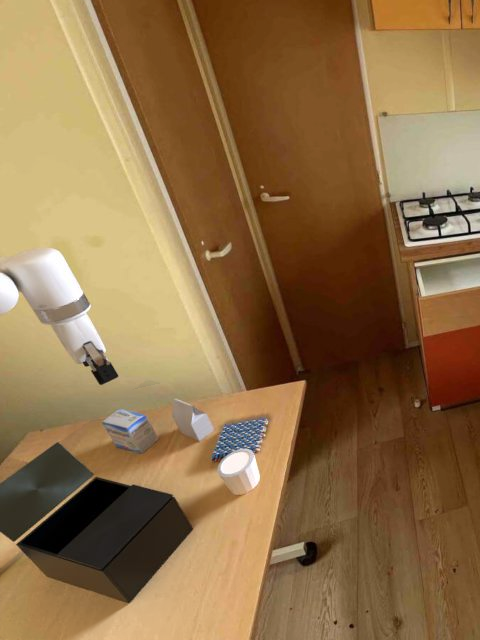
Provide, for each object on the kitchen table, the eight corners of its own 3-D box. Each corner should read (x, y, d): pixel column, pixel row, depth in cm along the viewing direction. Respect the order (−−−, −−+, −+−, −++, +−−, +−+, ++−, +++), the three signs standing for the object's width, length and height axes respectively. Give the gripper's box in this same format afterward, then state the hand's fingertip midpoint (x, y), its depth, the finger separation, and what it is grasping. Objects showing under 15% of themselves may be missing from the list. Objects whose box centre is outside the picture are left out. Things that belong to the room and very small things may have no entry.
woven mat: (270, 419, 108) (268, 414, 107) (260, 455, 99) (257, 449, 98) (225, 428, 106) (222, 422, 105) (210, 465, 96) (207, 459, 95)
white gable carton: (199, 441, 102) (185, 412, 97) (180, 433, 104) (165, 404, 100) (214, 429, 105) (200, 401, 100) (195, 421, 107) (181, 393, 103)
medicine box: (116, 447, 100) (99, 422, 96) (134, 432, 104) (120, 407, 100) (142, 454, 99) (126, 429, 95) (160, 439, 103) (146, 413, 99)
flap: (14, 541, 71) (13, 541, 72) (94, 474, 82) (93, 474, 82) (-32, 506, 68) (-33, 507, 68) (58, 441, 79) (57, 441, 79)
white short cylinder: (269, 477, 94) (260, 457, 91) (238, 503, 89) (228, 482, 85) (251, 463, 97) (242, 443, 94) (220, 488, 92) (210, 467, 88)
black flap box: (46, 576, 77) (13, 541, 71) (118, 508, 88) (94, 473, 82) (129, 603, 73) (100, 568, 68) (193, 528, 84) (172, 494, 79)
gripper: (26, 302, 86) (67, 365, 94) (49, 332, 78) (92, 399, 86) (74, 286, 92) (109, 347, 100) (101, 312, 83) (137, 377, 91)
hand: (101, 371), depth 93 cm, fingers open, 9 cm apart
